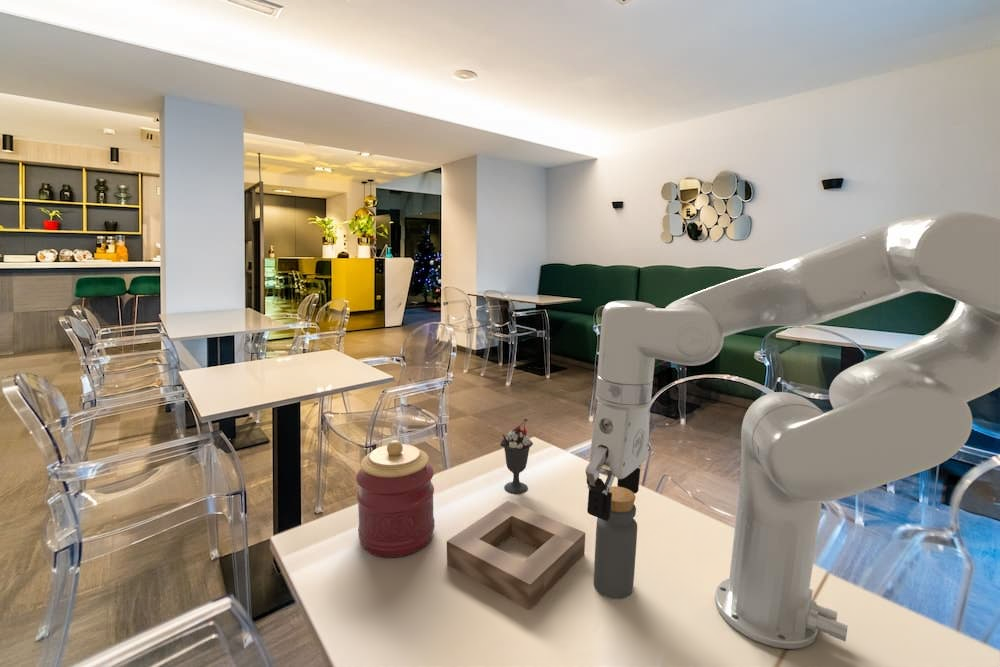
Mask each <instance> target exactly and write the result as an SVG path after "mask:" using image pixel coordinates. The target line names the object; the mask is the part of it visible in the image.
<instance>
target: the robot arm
mask: <svg viewBox="0 0 1000 667" xmlns="http://www.w3.org/2000/svg"><path fill="white" fill-rule="evenodd" d="M915 292H921V293H929V294H935V295H936V294H937V295H940V296H942V297H946V298H949V299H951V300H955V305H954V308H953V309H952V311H951V313H950V315H949V316H948V318H947V319H946V320H945V321H944V323H942V324H941V325H940V326H939V327H937V328H936V329H934V330H932V331H930V332H929V333H927V334H925V335H922V336H921V337H918V338H917V339H913V340H912V341H910V342H908V343H905V344H902V345H900V346H897V347H895V348H892V349H890V350H888V351H886V352H883V353H880V354H878V355H876V356H874V357H871V358H869V359H866V360H863V361H861V362H859V363H856V364H854V365H852V366H849V367H848V368H846V369H844V370H843V371H841V372H839V373H838V374H837V375H836V376H835V377H834V379H833V380H832V382H831V383H830V387H829V388H828V389H829V390H828V397H829V401H830V404H831V406H832V409H831V410H828V411H826V412H824V411H823V410H822V409H821V408H819V407H818V406H817V405H816V404H815V403H813V402H811V401H810V400H808V399H807V398H805V397H803V396H801V395H798V394H795V393H791V392H787V391H776V392H771V393H768V394H764V395H762V396H760V397H759V398H757V399H756V400H755V401H754V402H752V403H751V405H750V406H749V407H748V409H747V410H746V413H745V414H744V416H743V419H742V423H741V424H742V425H741V432H740V433H741V436H740V438H741V439H740V440H741V441H740V444H741V445H740V447H741V448H740V449H741V450H740V455H741V457H740V461H741V462H740V464H741V465H740V480H739V488H738V489H739V490H738V499H737V506H736V515H735V524H734V534H733V542H732V550H731V551H732V552H731V560H730V571H729V578H727V579H725V580H723V581H721V582H720V583H719V584H718V585H717V587H716V590H715V595H714V596H715V597H714V598H715V604H716V608H717V610H718V612H719V613H720V615H721V617H723V618H724V620H725V621H726V622H727V623H728V624H729V625H730V626H732V628H734V629H735V630H737V631H738V632H740V633H741V634H743V635H744V636H746V637H748V638H749V639H751V640H754V641H756V642H758V643H761V644H764V645H766V646H770V647H773V648H780V649H785V650H786V649H789V650H790V649H791V650H792V649H793V650H794V649H802V648H805V647H808V646H810V645H811V644H812V643H814V642H815V641H816V638H817V636H818V631H820V632H822V633H825V634H828V635H829V636H831V637H833V638H836V639H838V640H841V641H843V642H846V641H847V634H848V625H847V624H845V623H842V622H840V621H837V618H838V611H835V610H833V609H830V608H829V607H824V606H821V605H819V604H818V603H817V602H816V601H814V600H812V599H813V594H814V593H813V592H814V590H813V589H812V588H810V586H811V582H812V574H813V566H814V559H815V552H816V546H817V539H818V532H819V525H820V520H821V518H820V517H821V513H822V512H821V511H822V503H828V502H831V501H837V500H841V499H844V498H848V497H851V496H855V495H858V494H861V493H863V492H867V491H868V490H871V489H875V488H878V487H881V486H884V485H887V484H890V483H892V482H896V481H899V480H901V479H904V478H907V477H909V476H910V477H911V476H913V475H916V474H918V473H921V472H924V471H927V470H930V469H932V468H935V467H937V466H939V465H941V464H942V463H944V462H946V461H948V460H949V459H951V458H952V457H953V456H954V455H956V454H957V453H958V452H960V450H962V448H963V447H964V445H965V444H966V443H967V441H968V440H969V437H970V435H971V433H972V429H973V415H972V411H971V408H970V406H969V405H968V402H970V401H973V400H975V399H978V398H980V397H982V396H984V395H987V394H988V393H991V392H992V391H993V392H994V391H995V390H997V389H999V388H1000V218H998V217H994V216H989V215H986V214H980V213H976V212H970V211H945V212H936V213H925V214H916V215H911V216H907V217H903V218H899V219H896V220H892V221H890V222H887V223H885V224H882V225H880V226H875V227H874V228H872V229H868V230H866V231H863V232H861V233H858V234H855V235H853V236H850V237H848V238H845V239H842V240H840V241H838V242H835V243H832V244H829V245H827V246H824V247H821V248H819V249H818V248H817V249H815V250H813V251H810V252H808V253H805V254H802V255H799V256H797V257H794V258H792V259H788V260H785V261H781V262H780V263H776V264H773V265H771V266H768V267H767V266H766V267H765V268H762V269H760V270H757V271H755V272H751V273H748V274H745V275H742V276H739V277H736V278H733V279H730V280H727V281H725V282H721V283H719V284H715V285H713V286H710V287H707V288H706V289H702V290H700V291H697V292H693V293H692V294H689V295H686V296H684V297H681V298H679V299H677V300H674V301H673V302H671V303H669V304H668V305H667V306H665V308H658V307H657V306H656V305H654V304H651V303H649V302H643V301H638V300H614V301H609V302H608V303H606V304H605V305H604V307H603V309H602V312H601V321H600V322H601V325H600V336H599V350H598V361H597V363H598V364H597V374H596V376H597V377H596V388H595V399H596V401H598V402H597V407H596V412H595V417H594V422H593V430H592V436H591V445H590V458H589V459H590V461H589V462H588V464H587V465H586V468H585V476H586V484H587V489H588V496H587V511H586V512H587V514H589V515H591V516H593V517H595V518H600V519H602V520H605V521H608V520H609V519H610V512H611V500H612V493H610V492H609V491H610V489H611V487H613V483H614V480H615V478H616V479H617V485H616V487H623V488H626V489H629V490H631V491H632V492H633V493H634V494H635V495H636V494H637V493H638V492H639V490H640V489H639V488H640V479H641V467H642V464H643V463H644V462H646V460H647V457H648V454H649V440H650V438H649V437H650V418H651V416H650V405H651V404H652V394H653V384H654V383H653V382H654V373H655V364H656V360H661V361H665V362H669V363H673V364H678V365H683V366H688V367H689V366H691V367H692V366H700V365H701V366H702V365H704V364H706V363H709V362H711V361H712V360H713V359H714V358H716V357H717V356H718V355H719V354H720V352H721V350H722V348H723V346H724V340H725V339H724V338H725V337H728V336H732V335H734V334H737V333H741V332H744V331H748V330H752V329H757V328H765V327H772V326H775V327H776V326H777V327H778V326H779V327H780V326H787V327H788V326H789V327H796V326H797V327H798V326H799V327H801V326H810V325H815V324H821V323H824V322H828V321H831V320H832V319H836V318H839V317H841V316H845V315H848V314H851V313H854V312H856V311H860V310H863V309H865V308H868V307H871V306H874V305H878V304H880V303H884V302H887V301H890V300H893V299H896V298H899V297H903V296H905V295H908V294H911V293H915ZM603 466H605V467H608V468H609V469H607V468H605V467H603ZM600 475H603V476H606V480H605V482H604V481H603V479H601V478H600Z"/></svg>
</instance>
